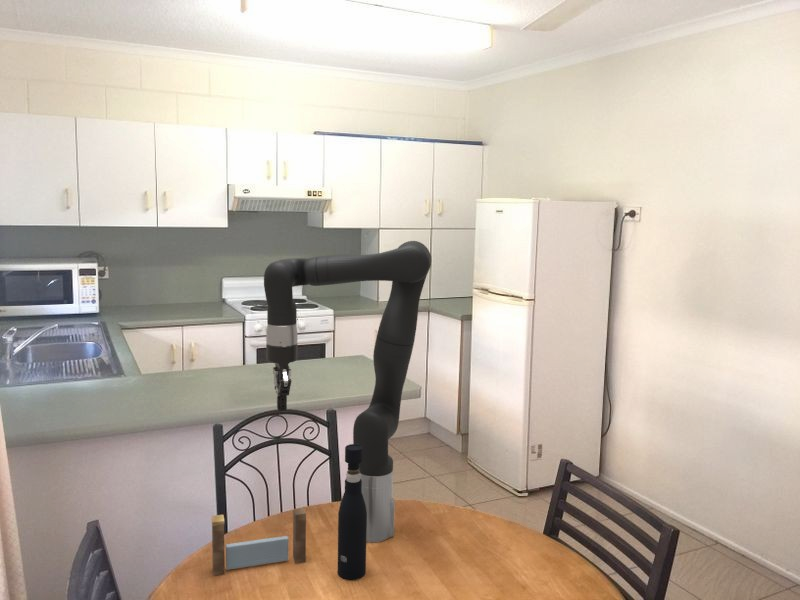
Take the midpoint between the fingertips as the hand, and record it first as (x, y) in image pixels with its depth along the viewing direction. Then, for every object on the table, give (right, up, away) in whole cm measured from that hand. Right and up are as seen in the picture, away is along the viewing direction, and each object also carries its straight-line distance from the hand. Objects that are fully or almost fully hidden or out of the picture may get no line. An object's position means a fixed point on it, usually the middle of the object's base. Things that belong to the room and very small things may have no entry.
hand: (281, 409), depth 168 cm
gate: (-3, -34, -12) cm, 36 cm away
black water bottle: (+18, -35, -14) cm, 42 cm away
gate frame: (-3, -34, -12) cm, 36 cm away
